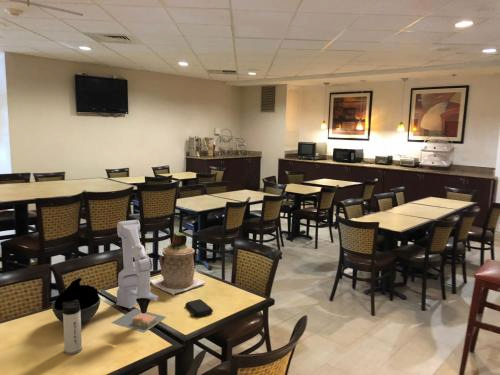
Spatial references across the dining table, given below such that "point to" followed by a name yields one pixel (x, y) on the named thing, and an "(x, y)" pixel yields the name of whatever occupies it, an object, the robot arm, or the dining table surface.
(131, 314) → the mat
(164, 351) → the dining table surface
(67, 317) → the travel mug
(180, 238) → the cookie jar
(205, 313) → the carrying case or bag
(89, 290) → the bowl of black rocks
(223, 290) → the dining table surface
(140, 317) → the brown wooden block
